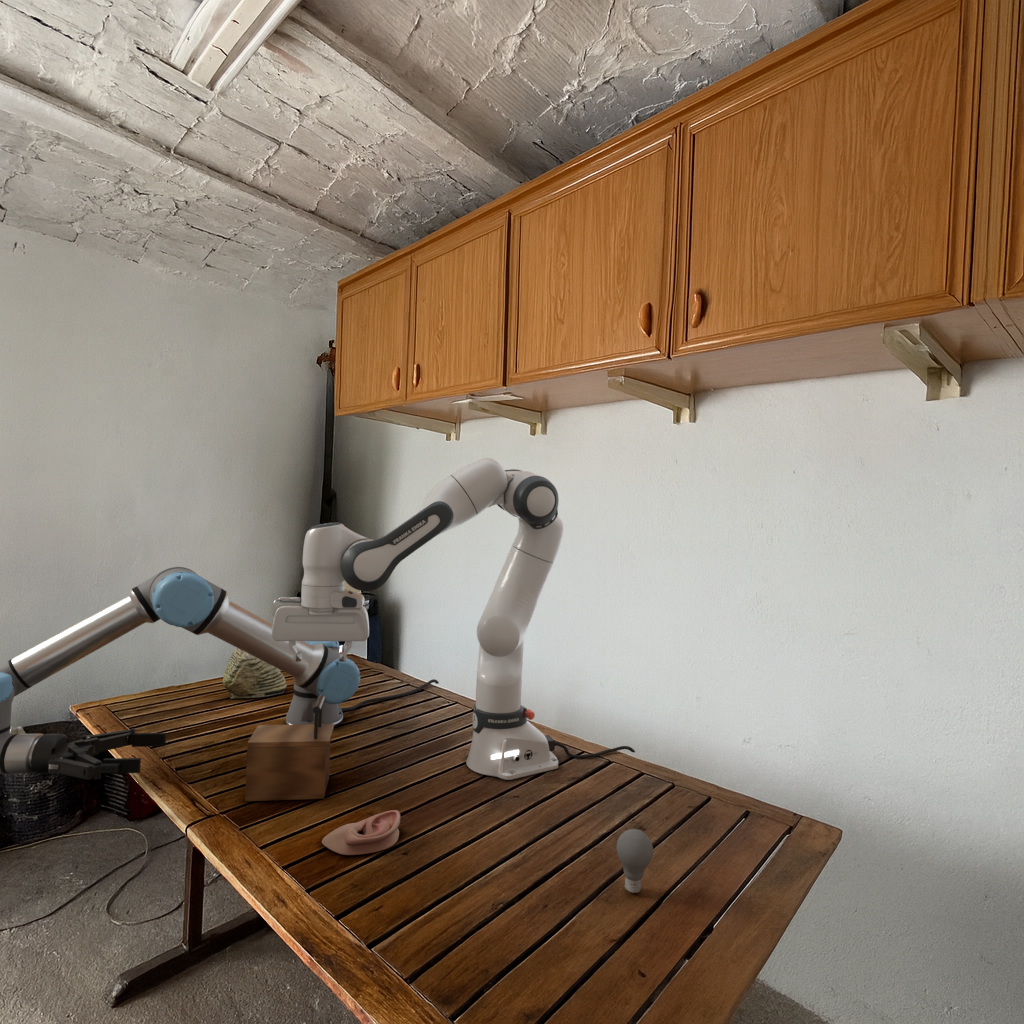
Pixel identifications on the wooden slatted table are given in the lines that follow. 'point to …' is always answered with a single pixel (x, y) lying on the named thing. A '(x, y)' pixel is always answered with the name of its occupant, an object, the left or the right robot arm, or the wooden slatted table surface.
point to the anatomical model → (365, 835)
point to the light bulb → (634, 857)
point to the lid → (294, 732)
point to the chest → (287, 773)
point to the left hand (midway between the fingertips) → (153, 751)
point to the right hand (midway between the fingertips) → (320, 661)
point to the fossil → (251, 677)
